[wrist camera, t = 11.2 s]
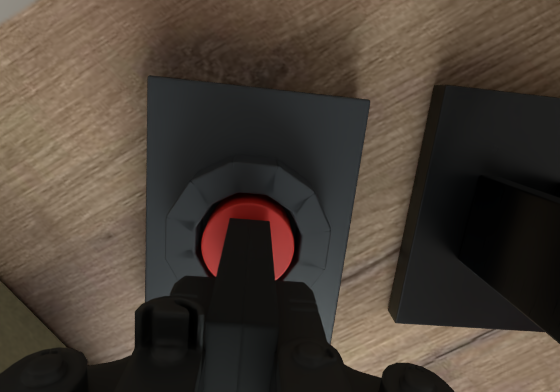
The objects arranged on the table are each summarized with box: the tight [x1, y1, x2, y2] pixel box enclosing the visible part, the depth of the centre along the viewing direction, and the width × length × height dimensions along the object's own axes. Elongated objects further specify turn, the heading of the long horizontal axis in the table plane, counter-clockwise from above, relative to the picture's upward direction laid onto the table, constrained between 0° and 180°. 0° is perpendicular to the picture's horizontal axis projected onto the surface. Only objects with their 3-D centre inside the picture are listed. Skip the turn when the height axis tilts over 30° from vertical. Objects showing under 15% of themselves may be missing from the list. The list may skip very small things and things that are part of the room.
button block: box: [145, 75, 370, 344], centre depth 16 cm, size 12×9×4 cm
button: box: [201, 193, 294, 280], centre depth 15 cm, size 4×4×2 cm
